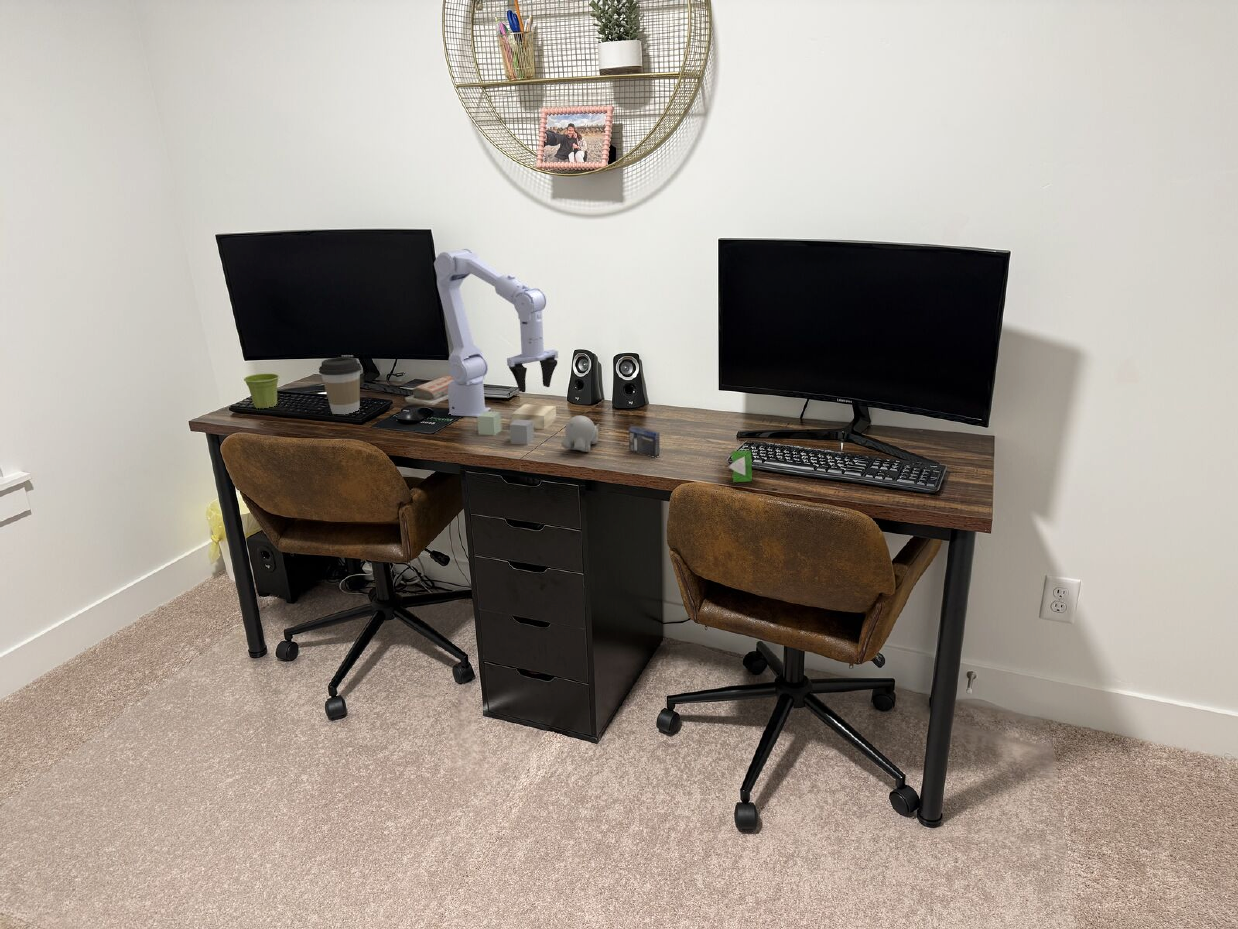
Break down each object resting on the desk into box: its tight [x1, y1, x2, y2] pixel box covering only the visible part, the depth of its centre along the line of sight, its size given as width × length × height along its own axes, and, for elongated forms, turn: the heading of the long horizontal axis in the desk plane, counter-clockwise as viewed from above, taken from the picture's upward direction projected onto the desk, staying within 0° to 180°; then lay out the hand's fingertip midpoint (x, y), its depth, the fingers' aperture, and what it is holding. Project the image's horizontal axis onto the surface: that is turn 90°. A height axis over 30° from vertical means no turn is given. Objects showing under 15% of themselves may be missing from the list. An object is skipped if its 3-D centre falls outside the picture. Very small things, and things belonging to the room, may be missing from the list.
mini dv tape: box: [628, 425, 660, 458], centre depth 203 cm, size 8×2×6 cm, turn 48°
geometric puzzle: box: [724, 450, 760, 483], centre depth 186 cm, size 7×7×8 cm
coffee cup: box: [318, 356, 362, 415], centre depth 238 cm, size 11×11×15 cm
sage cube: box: [476, 410, 503, 436], centre depth 221 cm, size 4×4×5 cm
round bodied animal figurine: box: [561, 415, 600, 453], centre depth 207 cm, size 7×12×8 cm, turn 148°
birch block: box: [511, 403, 557, 430], centre depth 228 cm, size 9×9×4 cm
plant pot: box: [243, 373, 280, 409], centre depth 247 cm, size 9×9×9 cm
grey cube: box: [509, 419, 535, 446], centre depth 214 cm, size 4×4×5 cm
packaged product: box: [404, 375, 454, 406], centre depth 255 cm, size 18×5×10 cm
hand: (534, 388), depth 224 cm, fingers open, 7 cm apart
